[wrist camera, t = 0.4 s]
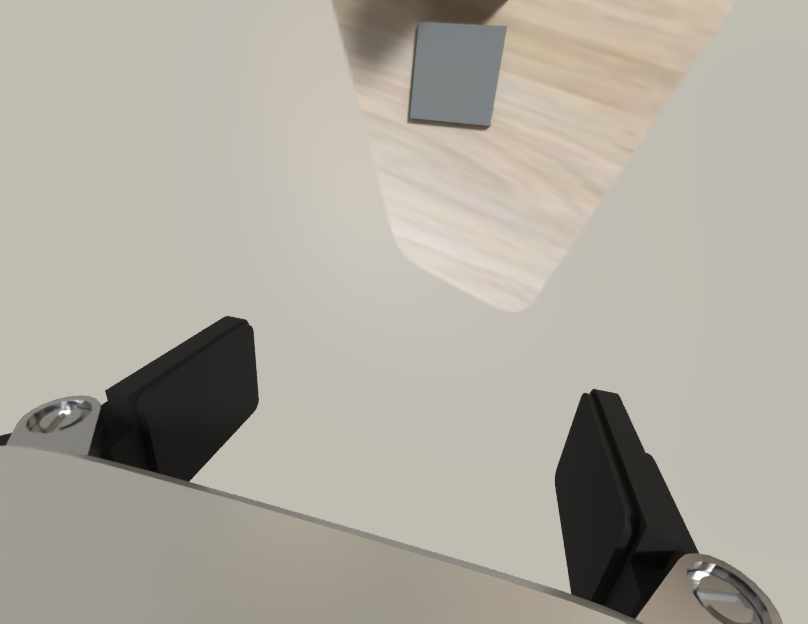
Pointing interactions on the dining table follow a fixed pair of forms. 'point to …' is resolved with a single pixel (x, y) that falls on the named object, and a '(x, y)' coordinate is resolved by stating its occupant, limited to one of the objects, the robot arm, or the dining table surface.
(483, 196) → the dining table surface
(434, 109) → the slate coaster
